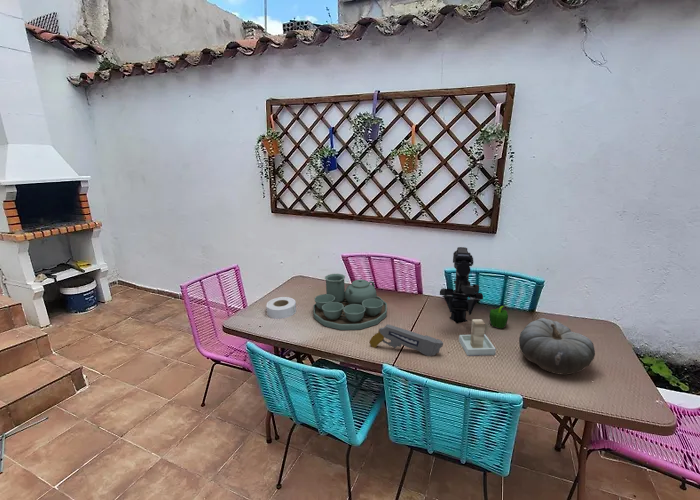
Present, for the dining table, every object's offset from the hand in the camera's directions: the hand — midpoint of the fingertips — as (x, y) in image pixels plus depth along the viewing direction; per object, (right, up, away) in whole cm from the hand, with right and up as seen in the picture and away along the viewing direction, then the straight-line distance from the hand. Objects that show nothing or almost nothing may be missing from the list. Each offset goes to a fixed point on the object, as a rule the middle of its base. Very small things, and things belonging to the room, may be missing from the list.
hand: (460, 313), depth 154 cm
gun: (-26, -15, -6) cm, 31 cm away
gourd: (+32, -17, -17) cm, 40 cm away
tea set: (-49, -5, +30) cm, 58 cm away
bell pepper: (+22, -8, +11) cm, 26 cm away
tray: (+5, -14, -6) cm, 16 cm away
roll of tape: (-87, -6, +32) cm, 93 cm away
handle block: (+5, -13, -6) cm, 15 cm away
